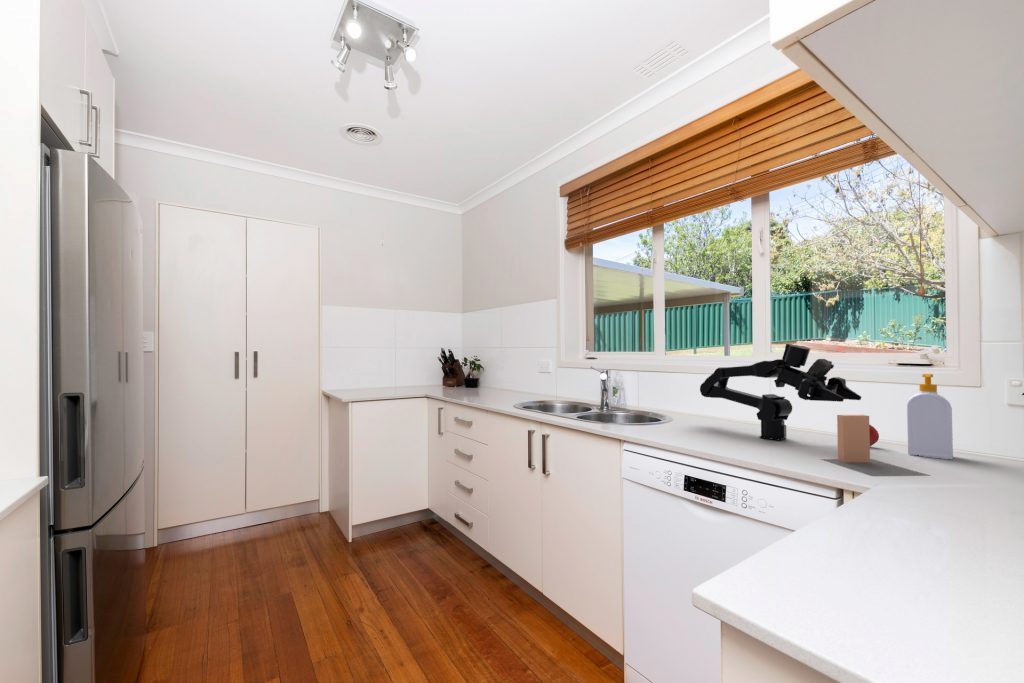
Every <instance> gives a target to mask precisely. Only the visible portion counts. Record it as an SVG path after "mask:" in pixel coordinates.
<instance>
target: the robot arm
mask: <svg viewBox="0 0 1024 683" xmlns="http://www.w3.org/2000/svg"><path fill="white" fill-rule="evenodd" d="M810 350H811V348H810V347H808V346H804V345H797V344H793V343H786V344H785V346H784V352H783V356H782V358H780V359H779V358H777V359H773V360H762V361H757V362H755V363H753V364H750V365H741V366H740V365H739V366H731V367H726V366H724V367H717V368H716V369H715V370H714V371H713V373H712V374H711V375H709V376H707V378H706V379H705V380H704V381H703V382H702V383H701V384H700V386H699V392H700V393H701V396H702V397H704V398H712V399H714V398H715V399H716V398H717V399H718V398H719V399H725V400H728V401H731V402H735V403H738V404H741V405H745V406H749V407H752V408H756V409H757V410H758V411H757V413H756V417H757V420H758V421H760V436H758V437H765V438H772V439H771V440H773V439H779V440H778V441H782V440H781V439H783V440H785V439H784V438H786V439H787V425H786V424H785V421H787V420H788V418H789V415H790V414H792V412H793V404H792V403H791V401H790V400H789V399H786V396H779V395H778V394H775V393H772V394H771V393H769V394H761V396H760V395H756V394H752V393H749V392H743V391H740V390H736V389H733V388H729V387H728V386H727V385H728V382H729V379H730V378H737V377H739V378H740V377H751V376H752V377H757V378H763V379H766V378H767V379H770V378H771V379H772V378H776V379H774V380H773V381H774V383H775V387H776V388H784V387H785V385H787V386H790V387H792V388H794V390H796V391H797V396H798V398H800V399H802V400H804V401H814V402H815V401H819V402H820V401H822V402H841V403H842V402H844V400H851V401H861V400H862V396H861V395H859V394H858V393H857V392H855V391H854V390H852V389H850V388H849V387H848V386H847V381H846V379H845V378H842V377H840V376H836V377H835V376H834V377H830V378H828V376H826V375H827V374H828V373H829V372H830V371H831V370H832V369H834V367H835V365H834V364H833V361H832V360H828V359H826V358H818V359H816V360H814V362H813V363H812V365H810V367H809V369H808V370H807V372H806V371H803V370H801V367H805V366H806V363H807V360H808V357H809V354H810ZM827 379H828V381H827ZM826 381H827V383H826ZM765 438H764V439H765Z"/></svg>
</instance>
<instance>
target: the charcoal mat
mask: <svg viewBox="0 0 1024 683" xmlns="http://www.w3.org/2000/svg"><path fill="white" fill-rule="evenodd" d="M821 460H822V461H824V462H828V463H831V464H834V465H837V466H840V467H842V468H846V469H849V470H852V471H856V472H858V473H862V474H863V475H868V476H871V477H911V476H912V477H916V476H917V477H924V476H925V477H927V476H928V477H929V476H931V474H927V473H924V472H921V471H916V470H912V469H909V468H906V467H901V466H899V465H895V464H891V463H888V462H883V461H879V460H876V459H873V458H870V462H849V463H844V462H841V461H838V458H823V459H822V458H820V461H821Z"/></svg>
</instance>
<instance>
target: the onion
mask: <svg viewBox="0 0 1024 683" xmlns="http://www.w3.org/2000/svg"><path fill="white" fill-rule="evenodd" d="M869 432H870V447H871V446H873V445H875V444H876V443H877V442H878V441H879V440H880V439H879V437H880V433H879V431H878V430H877V428H875V427H874V426H873V425H871V424H870V423H869Z"/></svg>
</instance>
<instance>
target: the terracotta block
mask: <svg viewBox="0 0 1024 683" xmlns="http://www.w3.org/2000/svg"><path fill="white" fill-rule="evenodd" d="M836 422H837V424H836V425H837V426H836V428H837V431H836V432H837V459H838V461H841V462H844V463H849V462H870V459H871V446H870V432H869V424H870V415H867V414H866V415H865V414H837V416H836Z"/></svg>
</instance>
